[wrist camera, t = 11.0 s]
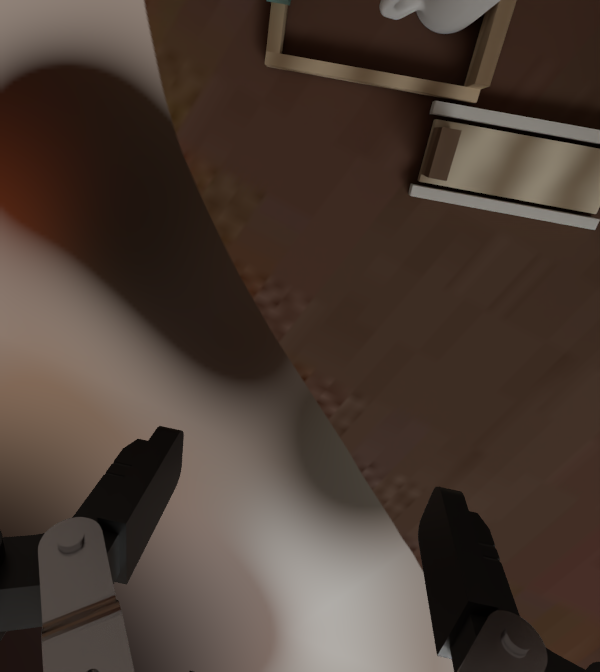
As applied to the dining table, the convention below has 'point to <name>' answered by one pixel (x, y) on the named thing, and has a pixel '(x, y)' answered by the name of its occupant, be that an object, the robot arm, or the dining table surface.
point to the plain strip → (512, 166)
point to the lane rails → (517, 124)
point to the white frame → (476, 77)
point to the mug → (438, 12)
